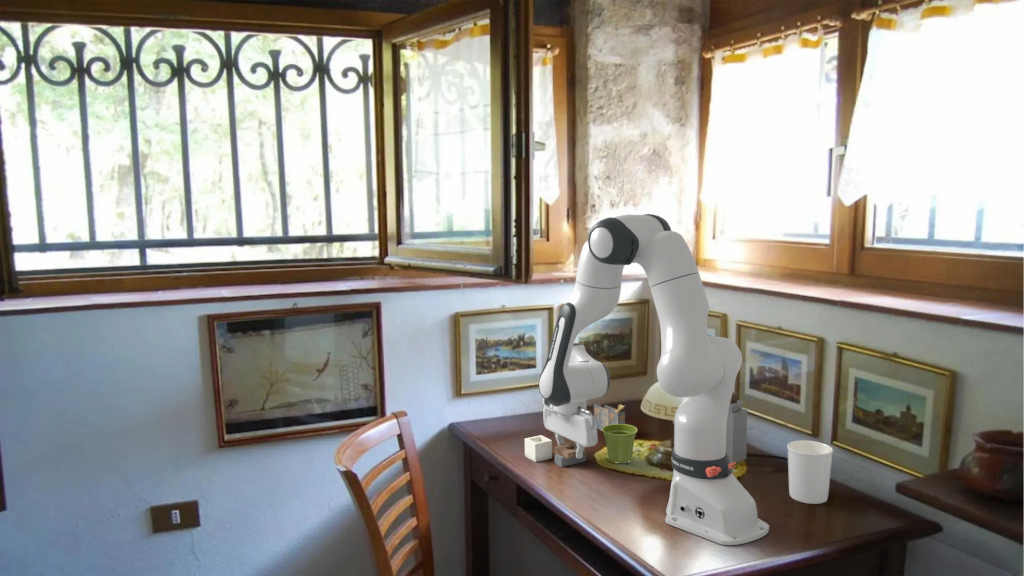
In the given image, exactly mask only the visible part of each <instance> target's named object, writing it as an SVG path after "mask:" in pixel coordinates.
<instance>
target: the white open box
mask: <svg viewBox="0 0 1024 576" xmlns="http://www.w3.org/2000/svg"><path fill="white" fill-rule="evenodd" d="M524 457H525V458H527V459H529V460H531V461H533V462H534V463H537V462H541V461H546V460H551V459H553V440H552V439H550V438H548V437H546V436H544V435H542V434H540V435H536V436H535V435H534V436H532V437H527V438H524Z"/></svg>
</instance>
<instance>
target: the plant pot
mask: <svg viewBox="0 0 1024 576" xmlns="http://www.w3.org/2000/svg"><path fill="white" fill-rule="evenodd" d="M602 433H603V436H604V438H605V444H606V445H605V446H606V450H607V451H606V452H607V457H608V458H607V459H608V460H609V462H610V461H612V462H618V463H620V464H623V463H624V462H628V461H630V462H632V457H633V451H634V444H635V438H636V435H637V433H638V428H637V427H636V426H634V425H632V424H627V423H625V424H611V425H606V426H604V427H603V428H602ZM612 462H611V463H612ZM628 463H629V462H628ZM624 464H625V463H624Z"/></svg>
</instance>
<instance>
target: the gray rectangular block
mask: <svg viewBox="0 0 1024 576" xmlns="http://www.w3.org/2000/svg"><path fill="white" fill-rule="evenodd" d="M584 461H585V462H586V461H587V454H586V455H583V457H582V458H579V459H578V458H576V457H574V458H570V459H566V458H564V457H562V456H560V455H558V454H556V453H555V454H554V464H555V465H557V466H558V467H560V468H564V467H567V466H568V467H569V466H572V465H576V464H580V463H584Z"/></svg>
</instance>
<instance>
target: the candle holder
mask: <svg viewBox="0 0 1024 576" xmlns="http://www.w3.org/2000/svg"><path fill="white" fill-rule="evenodd" d="M786 448H787V449H786V450H787V469H788V471H787V473H788V493H789V497H790V498H791V499H793V500H795V501H796V502H800V503H802V504H803V503H804V504H810V505H818V504H823V503H826V502H827V501H828V498H829V491H830V482H831V470H832V462H833V460H832V459H833V454H834V449H833V448H832V446H830V445H828V444H826V443H822V442H819V441H816V440H815V441H814V440H805V439H804V440H794V441H790V442H788V443H787V445H786Z"/></svg>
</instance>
